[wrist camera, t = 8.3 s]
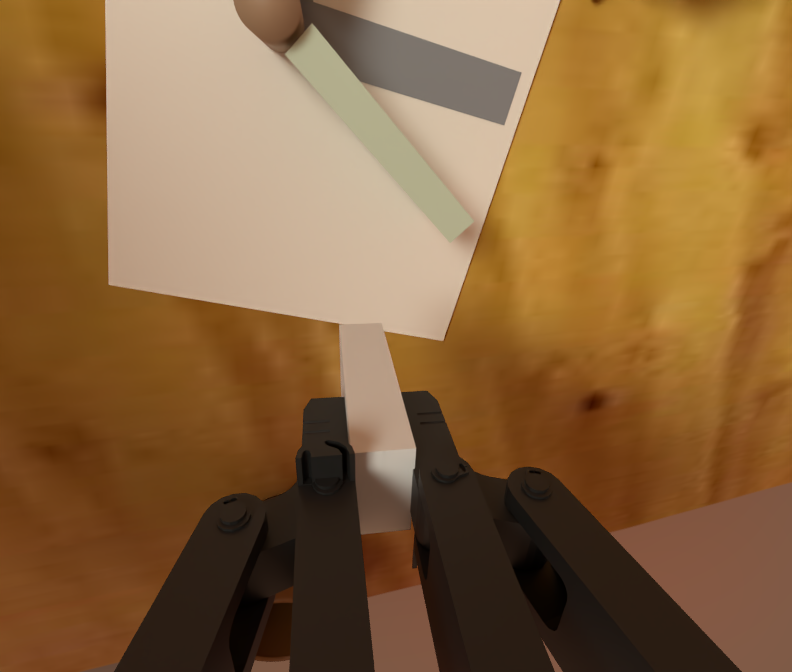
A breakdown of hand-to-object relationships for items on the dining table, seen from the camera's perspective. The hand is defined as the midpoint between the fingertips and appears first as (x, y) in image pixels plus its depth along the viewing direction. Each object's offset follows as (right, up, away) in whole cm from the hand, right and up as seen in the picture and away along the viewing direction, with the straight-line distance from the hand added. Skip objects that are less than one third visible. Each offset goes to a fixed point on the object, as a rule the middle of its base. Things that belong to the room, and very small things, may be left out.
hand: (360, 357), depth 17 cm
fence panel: (0, +12, +9) cm, 15 cm away
